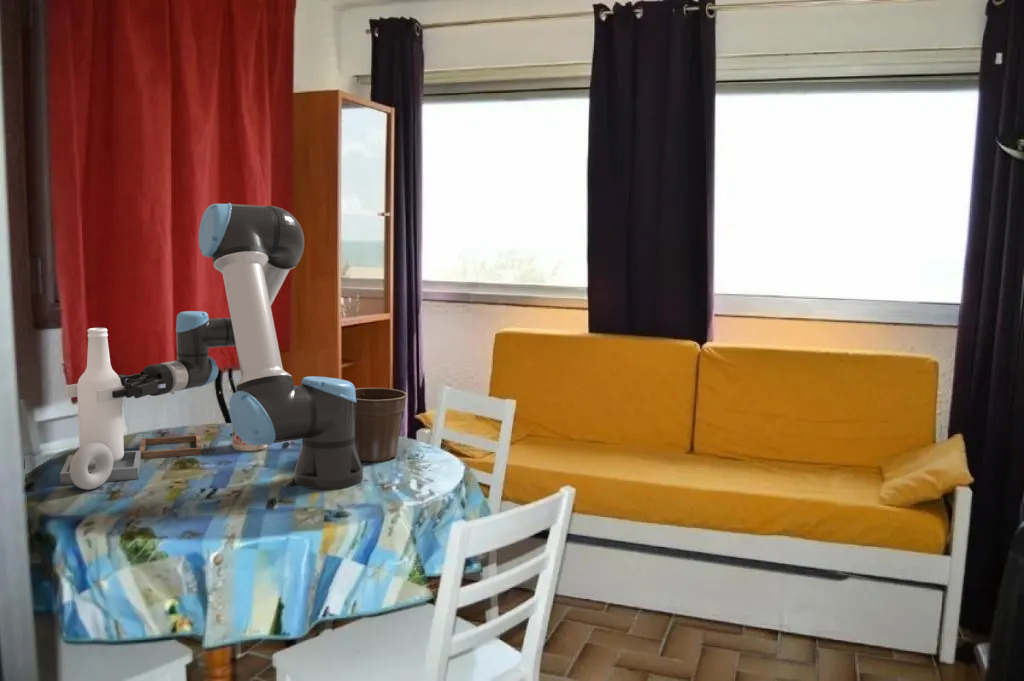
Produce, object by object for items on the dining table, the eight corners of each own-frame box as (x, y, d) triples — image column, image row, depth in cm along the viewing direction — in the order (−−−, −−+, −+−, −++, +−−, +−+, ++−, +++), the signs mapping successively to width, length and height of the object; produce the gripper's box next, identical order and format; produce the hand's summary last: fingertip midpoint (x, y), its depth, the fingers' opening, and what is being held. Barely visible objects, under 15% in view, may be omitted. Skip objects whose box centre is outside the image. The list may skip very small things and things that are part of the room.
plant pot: (393, 445, 207) (394, 385, 205) (415, 460, 193) (416, 397, 191) (333, 450, 199) (333, 389, 197) (351, 467, 185) (351, 401, 183)
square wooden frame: (201, 454, 192) (201, 448, 192) (139, 458, 186) (138, 452, 186) (200, 440, 205) (200, 434, 205) (141, 444, 199) (141, 438, 199)
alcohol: (71, 464, 172) (65, 329, 168) (97, 453, 180) (92, 325, 176) (107, 467, 170) (102, 332, 166) (132, 456, 179) (128, 327, 175)
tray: (138, 478, 172) (137, 467, 171) (60, 485, 166) (59, 473, 165) (141, 460, 185) (140, 450, 185) (69, 465, 179) (68, 455, 179)
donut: (79, 496, 159) (77, 449, 158) (66, 494, 160) (64, 447, 159) (118, 483, 168) (116, 438, 167) (105, 481, 169) (104, 436, 168)
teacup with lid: (224, 450, 196) (224, 405, 195) (243, 441, 205) (243, 398, 204) (268, 454, 194) (268, 408, 193) (285, 445, 203) (285, 401, 202)
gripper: (197, 398, 186) (119, 417, 166) (130, 388, 194) (47, 405, 173) (197, 367, 185) (118, 382, 165) (129, 359, 193) (46, 372, 172)
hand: (81, 394), depth 169 cm, fingers closed on alcohol, 9 cm apart
